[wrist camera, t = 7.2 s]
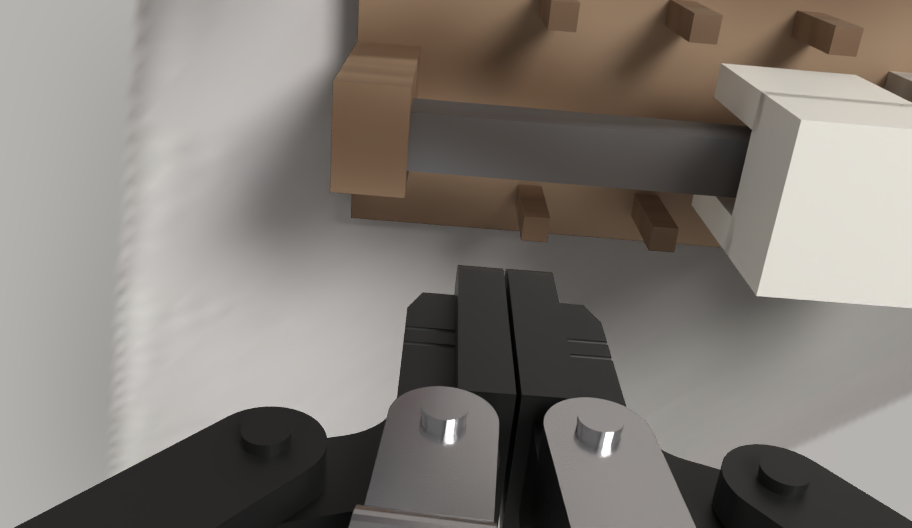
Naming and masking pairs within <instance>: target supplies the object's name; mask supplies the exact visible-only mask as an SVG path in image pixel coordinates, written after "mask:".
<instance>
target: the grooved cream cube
mask: <svg viewBox="0 0 912 528" xmlns="http://www.w3.org/2000/svg"><path fill="white" fill-rule="evenodd" d="M714 98H716V99H717V100H718V101H719V102H720V103H721V104H723V105H724V106H725V107H726V108H727V109H728V110H730V111H731V112H732V113H733V114H734V115H735V116H737V117H738V118H739V119H740V120H741V121H742V122H744V123H745V124H746V125H747V126H748V127H749V128H750V129H752V132H751V136H750V141H749V145H748V149H747V154H746V158H745V162H744V166H743V171H742V175H741V179H740V184H739V188H738V192H737V197H736V198H731V197H719V196H707V195H693V199H692V204H691V205H692V206H693V208H694V209H695V211H696V212H697V213H698V215H699V216H700V218H701V219H702V220H703V222H704V223H705V225H706V226H707V227H708V229H709V230H710V232H711V233H712V234H713V236H714V237H715V239H716V240H717V241H718V243H719V244H720V246H721V247H722V248H723V250H724V251H725V253H726V254H727V255H728V257H729V258H730V260H731V261H732V263H733V264H734V265H735V267H736V268H737V270H738V271H739V272H740V274H741V275H742V277H743V278H744V279H745V281H746V282H747V284H748V285H749V286H750V288H751V289H752V291H753V292H754V293H755V295H756V296H763V297H775V298H788V299H801V300H814V301H827V302H840V303H852V304H865V305H878V306H891V307H904V308H912V103H911V102H909V101H907V100H905V99H903V98H901V97H899V96H897V95H895V94H893V93H891V92H889V91H887V90H885V89H883V88H881V87H879V86H877V85H875V84H873V83H871V82H869V81H867V80H865V79H863V78H861V77H859V76H857V75H851V74H840V73H828V72H817V71H805V70H794V69H782V68H771V67H759V66H748V65H736V64H724V63H721V66H720V71H719V76H718V81H717V85H716V90H715V95H714Z"/></svg>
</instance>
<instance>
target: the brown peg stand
mask: <svg viewBox="0 0 912 528" xmlns="http://www.w3.org/2000/svg"><path fill="white" fill-rule="evenodd" d="M721 63H724V64H736V65H748V66H759V67H771V68H782V69H794V70H805V71H817V72H828V73H840V74H851V75H857V76H859V77H861V78H863V79H865V80H867V81H869V82H871V83H873V84H875V85H877V86H879V87H881V88H883V89H885V90H887V91H889V92H891V93H893V94H895V95H897V96H899V97H901V98H903V99H905V100H907V101H909V102H911V103H912V0H359V14H358V41H357V43H356V44H355V46H354V48H353V49H352V51H351V52H350V54H349V56H348V57H347V59H346V61H345V62H344V64H343V65H342V67H341V69H340V70H339V72H338V74H337V75H336V77H335V78H334V80H333V101H332V140H331V179H330V192H336V193H348V194H352V204H351V218H360V219H373V220H385V221H398V222H410V223H423V224H435V225H448V226H460V227H473V228H486V229H498V230H511V231H520V235H521V240H525V241H538V242H547V238H548V234H561V235H573V236H586V237H598V238H611V239H623V240H636V241H644V242H645V244H646V246H647V248H648V250H651V251H664V252H674V250H675V245H676V244H686V245H699V246H711V247H721V246H720V244H719V243H718V241H717V240H716V239H715V237H714V236H713V234H712V233H711V232H710V230H709V229H708V227H707V226H706V225H705V223H704V222H703V220H702V219H701V218H700V216H699V215H698V213H697V212H696V211H695V209H694V208H693V206H692V205H691V204H692V199H693V195H707V196H719V197H731V198H736V197H737V192H738V188H739V184H740V179H741V175H742V171H743V166H744V162H745V158H746V154H747V149H748V145H749V141H750V136H751V132H752V129H750V128H749V127H748V126H747V125H746V124H745V123H744V122H742V121H741V120H740V119H739V118H738V117H737V116H735V115H734V114H733V113H732V112H731V111H730V110H728V109H727V108H726V107H725V106H724V105H723V104H721V103H720V102H719V101H718V100H717V99H716V98H714V95H715V90H716V85H717V81H718V76H719V71H720V66H721Z"/></svg>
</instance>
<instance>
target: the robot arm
mask: <svg viewBox="0 0 912 528" xmlns="http://www.w3.org/2000/svg"><path fill="white" fill-rule="evenodd" d="M606 343H607V341H606V338H605V334H604V331H603V327H602V324H601V322H600V321H599V320H598V319H597V318H596V317H595V316H594V315H593V314H592V313H591V312H590V311H588V310H587V309H586V308H585V307H584V306H583V305H574V304H562V303H559V301H558V296H557V292H556V287H555V282H554V278H553V274H552V273H551V272H538V271H526V270H514V269H506V271H505V275H504V271H503V269H499V268H487V267H475V266H462V265H458V267H457V274H456V284H455V294H454V295H447V294H435V293H422V294H421V295H420V296H419V297H418V298H417V299H416V300H415V301H414V302H413V303H412V304H411V305H410V306H409V307H408V308H407V316H406V325H405V334H404V343H403V351H402V360H401V369H400V377H399V386H398V395H397V399H396V400H395V401H394V402H393V403H392V405H391V406H390V409H389V411H388V415H387V418H386V419H385V420H384V421H383V422H381V423H380V424H378V425H376V426H375V427H372V428H370V429H368V430H365V431H362V432H359V433H355V434H350V435H345V436H338V437H331V438H327V436H326V432H325V431H324V429H323V427H322V426H321V425H320V424H319V422H318V421H316V420H315V419H314V418H312V417H311V416H309V415H307V414H305V413H303V412H300V411H297V410H294V409H289V408H283V407H258V408H252V409H247V410H243V411H240V412H237V413H235V414H233V415H230V416H228V417H226V418H224V419H222V420H220V421H218V422H216V423H215V424H213V425H211V426H209V427H207V428H205V429H203V430H201V431H199V432H197V433H195V434H193V435H191V436H190V437H188V438H186V439H184V440H182V441H180V442H178V443H176V444H174V445H172V446H170V447H168V448H166V449H165V450H163V451H161V452H159V453H157V454H155V455H153V456H151V457H149V458H147V459H145V460H143V461H141V462H140V463H138V464H136V465H134V466H132V467H130V468H128V469H126V470H124V471H122V472H120V473H118V474H116V475H115V476H113V477H111V478H109V479H107V480H105V481H103V482H101V483H100V484H97V485H95V486H93V487H92V488H90V489H88V490H86V491H84V492H82V493H80V494H78V495H76V496H74V497H72V498H71V499H68V500H67V501H65V502H63V503H61V504H59V505H57V506H55V507H53V508H51V509H49V510H48V511H46V512H43V513H42V514H40V515H38V516H36V517H34V518H32V519H30V520H28V521H26V522H24V523H22V524H20V525H18V526H16V527H15V528H498V521H499V516H500V528H912V521H910V520H909V519H907V518H906V517H904V516H902V515H900V514H899V513H897V512H896V511H894V510H892V509H891V508H889V507H888V506H886V505H884V504H883V503H881V502H879V501H878V500H876V499H874V498H873V497H871V496H870V495H868V494H866V493H865V492H863V491H861V490H860V489H858V488H857V487H855V486H853V485H852V484H850V483H848V482H847V481H845V480H843V479H842V478H840V477H839V476H837V475H835V474H833V473H832V472H830V471H829V470H827V469H826V468H824V467H822V466H820V465H819V464H817V463H816V462H814V461H812V460H810V459H809V458H807V457H805V456H803V455H801V454H798V453H796V452H793V451H790V450H788V449H784V448H780V447H776V446H770V445H759V444H754V445H745V446H740V447H738V448H735V449H733V450H732V451H730V452H729V453H728V454H727V455H726V456H725V457H724V459H723V462H722V465H721V469H720V470H719V469H716V468H712V467H709V466H705V465H702V464H698V463H695V462H691V461H688V460H684V459H681V458H678V457H676V456H673V455H671V454H669V453H666V452H664V451H663V450H661V448H660V446H659V444H658V442H657V440H656V437H655V435H654V433H653V431H652V429H651V427H650V426H649V424H648V423H647V422H646V421H645V420H644V419H643V418H642V417H641V416H640V415H638V414H637V413H635V412H634V411H632V410H631V409H629V408H627V407H626V404H625V401H624V398H623V394H622V391H621V388H620V384H619V381H618V378H617V374H616V371H615V368H614V364H613V361H611V354H610V351H609V348H608V345H606Z"/></svg>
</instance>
